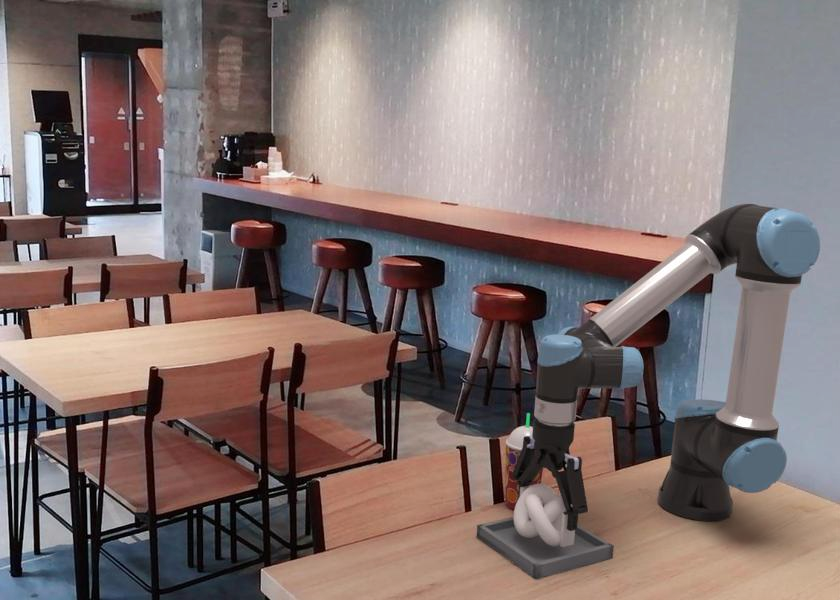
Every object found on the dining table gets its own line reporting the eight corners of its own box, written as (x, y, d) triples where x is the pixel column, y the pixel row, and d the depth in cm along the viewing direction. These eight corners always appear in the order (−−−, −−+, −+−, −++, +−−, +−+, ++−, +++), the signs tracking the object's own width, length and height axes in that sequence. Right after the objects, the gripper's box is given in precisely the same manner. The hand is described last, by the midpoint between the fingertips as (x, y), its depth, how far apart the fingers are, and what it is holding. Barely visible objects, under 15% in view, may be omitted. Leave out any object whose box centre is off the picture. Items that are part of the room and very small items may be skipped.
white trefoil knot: (561, 520, 176) (564, 476, 174) (590, 548, 164) (593, 501, 163) (507, 525, 172) (509, 481, 171) (532, 554, 161) (536, 507, 159)
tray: (549, 520, 181) (550, 508, 181) (612, 558, 166) (613, 545, 166) (476, 537, 172) (477, 525, 172) (536, 579, 157) (537, 566, 157)
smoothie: (538, 498, 192) (545, 408, 188) (544, 515, 184) (552, 421, 180) (498, 497, 192) (505, 406, 188) (503, 513, 183) (510, 419, 180)
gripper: (498, 403, 173) (491, 510, 177) (582, 443, 153) (572, 563, 157) (529, 399, 176) (521, 503, 181) (615, 437, 157) (604, 554, 161)
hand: (545, 531), depth 169 cm, fingers closed on white trefoil knot, 12 cm apart
